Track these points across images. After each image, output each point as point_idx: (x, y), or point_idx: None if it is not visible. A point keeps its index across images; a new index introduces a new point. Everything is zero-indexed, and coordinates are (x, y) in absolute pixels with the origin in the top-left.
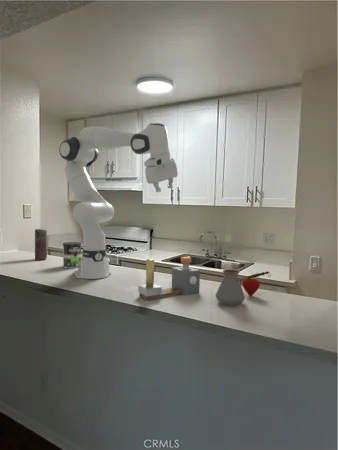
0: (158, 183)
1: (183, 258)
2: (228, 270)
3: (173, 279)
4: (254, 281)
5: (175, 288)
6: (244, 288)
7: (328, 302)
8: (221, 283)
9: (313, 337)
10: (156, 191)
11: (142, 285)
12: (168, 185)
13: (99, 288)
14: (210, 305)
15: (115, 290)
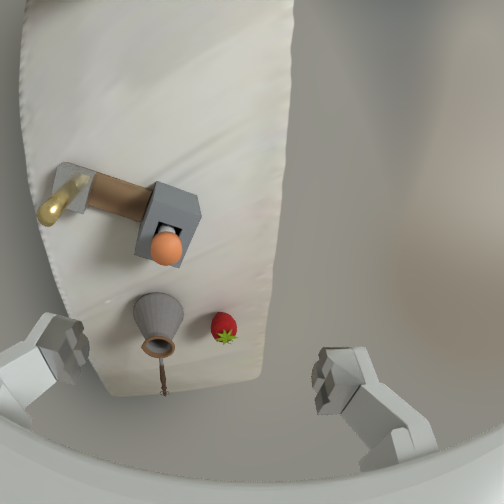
0: (25, 426)
1: (151, 252)
2: (167, 340)
3: (152, 196)
4: (217, 340)
5: (145, 201)
6: (215, 315)
7: (253, 376)
8: (145, 321)
9: (125, 387)
10: (46, 320)
11: (61, 174)
12: (327, 385)
13: (62, 47)
14: (123, 290)
15: (69, 86)
